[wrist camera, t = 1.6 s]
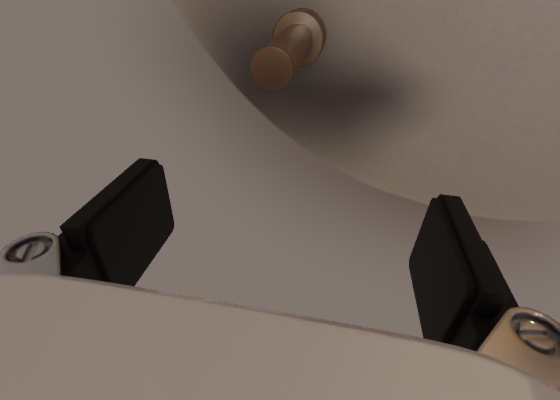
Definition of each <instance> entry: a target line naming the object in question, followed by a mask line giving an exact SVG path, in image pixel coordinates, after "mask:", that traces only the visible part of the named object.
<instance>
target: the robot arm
mask: <svg viewBox="0 0 560 400" xmlns="http://www.w3.org/2000/svg"><path fill="white" fill-rule="evenodd" d="M60 229H61V230H62V233H61V234H60V235H59V236H57V235H55V234H54V233H50V232H37V233H31V234H28V235H25V236H22V237H20V238H17V239H16V240H14V241H12V242H11V243H9V244H8V245H6V246H5V247H4V248H3V249H2V251H1V252H0V400H560V324H559V323H558V322H557V321H555V320H554V319H552V318H551V317H549V316H548V315H546V314H543V313H541V312H539V311H537V310H533V309H531V308H526V307H519V306H518V304H517V302H516V300H515V298H514V296H513V294H512V293H511V291H510V289H509V287H508V285H507V283H506V281H505V279H504V277H503V275H502V273H501V271H500V269H499V267H498V265H497V263H496V261H495V259H494V257H493V256H492V253H491V252H490V250H489V248H488V246H487V244H486V243H485V241H483V240H482V239H481V237H480V236H479V233H478V231H477V229H476V227H475V225H474V223H473V222H472V219H471V217H470V215H469V213H468V211H467V209H466V207H465V205H464V203H463V201H462V199H461V198H460V197H458V196H450V195H442V194H440V195H439V196H438V197H437V198H432V200H431V201H430V204H429V207H428V209H427V212H426V215H425V218H424V220H423V223H422V226H421V229H420V231H419V234H418V237H417V240H416V242H415V245H414V248H413V250H412V253H411V256H410V259H409V269H410V274H411V279H412V284H413V289H414V294H415V298H416V303H417V308H418V313H419V318H420V323H421V328H422V332H423V338H419V337H414V336H409V335H403V334H399V333H394V332H388V331H383V330H378V329H373V328H368V327H362V326H356V325H350V324H346V323H340V322H334V321H329V320H323V319H317V318H312V317H307V316H301V315H296V314H290V313H284V312H279V311H273V310H267V309H262V308H256V307H250V306H245V305H239V304H233V303H228V302H222V301H216V300H210V299H204V298H198V297H193V296H187V295H181V294H175V293H169V292H164V291H157V290H152V289H145V288H140V287H134V286H135V284H136V283H137V281H138V280H139V279H140V277H141V276H142V274H143V273H144V271H145V270H146V269H147V267H148V266H149V264H150V263H151V261H152V260H153V259H154V257H155V256H156V254H157V253H158V252H159V250H160V249H161V247H162V246H163V244H164V243H165V241H166V240H167V239H168V237H169V236H170V234H171V233H172V231H173V229H174V219H173V214H172V210H171V204H170V199H169V194H168V189H167V184H166V179H165V174H164V169H163V166H162V165H160V164H159V163H158V161H156V160H152V159H143V158H140V159H138V160H137V161H136V162H134V163H133V164H132V165H131V166H130V167H129V168H127V169H126V170H125V171H124V172H123V173H122V174H121V175H119V176H118V177H117V178H116V179H115V180H114V181H112V182H111V183H110V184H109V185H108V186H106V187H105V188H104V189H103V190H102V191H101V192H99V193H98V194H97V195H96V196H95V197H94V198H92V199H91V200H90V201H89V202H88V203H87V204H85V205H84V206H83V207H82V208H81V209H79V210H78V211H77V212H76V213H75V214H74V215H72V216H71V217H70V218H69V219H68V220H67V221H66V222H64V223H63V224H62V225H61V226H60Z"/></svg>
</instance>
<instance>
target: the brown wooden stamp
mask: <svg viewBox="0 0 560 400" xmlns="http://www.w3.org/2000/svg"><path fill="white" fill-rule="evenodd" d="M324 42H325V27H324V24H323V21H322V20H321V18H320V17H319V16H318V14H316V13H315V12H314V11H312V10H310V9H306V8H298V9H295V10H292V11H291V12H289V13H287V14H285V15H284V16H282V17H281V18H280V19H279V21H278V22H277V24H276V25H275V28H274V31H273V35H272V40H271V41H269V42H268V43H267V44H266V45H264V46H263V47H262V48H260V49H259V50H258V51H257V52H256V53H255V54H254V56H253V58H252V60H251V64H250V72H251V76H252V79H253V81H254V82H255V84H256V85H257V86H258V87H259V88H260V89H262V90H263V91H266V92H269V93H278V92H281V91H283V90H285V89H286V88H287V87H288V86H289V85H290V83H291V82H292V80H293V78H294V76H295V75H296V73H297V71H298V69H299V68H300V67H305V66H307V65H309V64H311V63H312V62H313V61H315V59H316V58H317V57H318V56H319V54H320V52H321V50H322V47H323V45H324Z"/></svg>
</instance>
